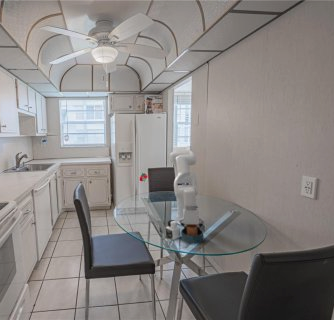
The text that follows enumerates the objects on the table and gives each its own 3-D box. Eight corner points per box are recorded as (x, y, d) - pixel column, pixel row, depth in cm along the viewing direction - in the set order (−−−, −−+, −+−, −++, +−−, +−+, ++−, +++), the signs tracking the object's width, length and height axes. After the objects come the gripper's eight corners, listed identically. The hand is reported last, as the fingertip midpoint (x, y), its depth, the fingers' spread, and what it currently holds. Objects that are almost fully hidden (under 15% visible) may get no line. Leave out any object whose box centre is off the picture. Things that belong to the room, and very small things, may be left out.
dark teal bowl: (177, 239, 148) (176, 231, 148) (190, 233, 155) (190, 226, 155) (194, 246, 136) (193, 238, 136) (208, 239, 143) (207, 231, 143)
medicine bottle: (166, 236, 153) (164, 220, 153) (173, 234, 156) (172, 218, 156) (172, 240, 147) (171, 223, 146) (180, 237, 150) (179, 221, 149)
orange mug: (198, 241, 141) (197, 228, 140) (187, 240, 143) (186, 227, 143) (197, 234, 151) (196, 222, 150) (186, 233, 153) (186, 221, 153)
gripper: (203, 205, 145) (205, 231, 146) (177, 205, 151) (179, 229, 152) (204, 209, 138) (206, 235, 139) (176, 208, 144) (178, 234, 145)
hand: (192, 232), depth 145 cm, fingers closed on orange mug, 7 cm apart
